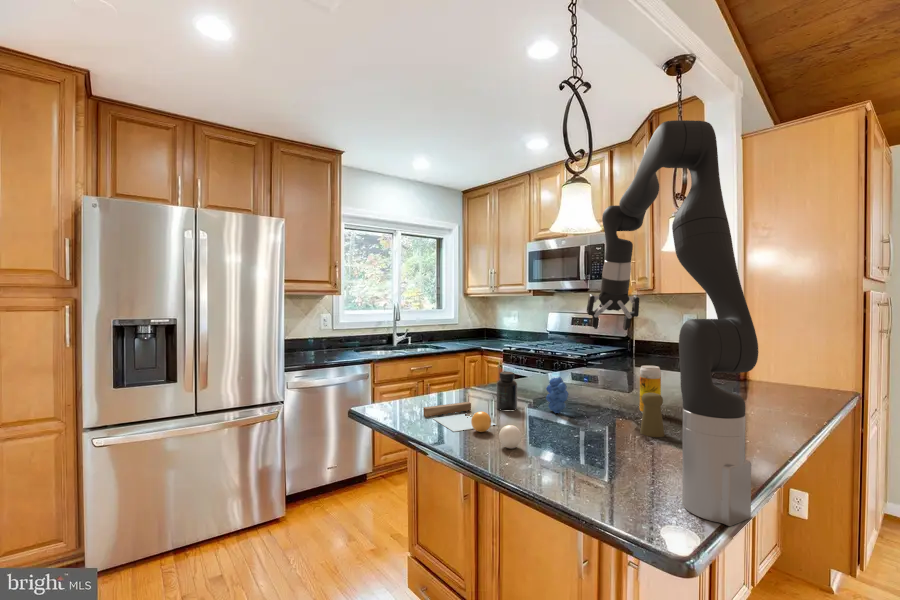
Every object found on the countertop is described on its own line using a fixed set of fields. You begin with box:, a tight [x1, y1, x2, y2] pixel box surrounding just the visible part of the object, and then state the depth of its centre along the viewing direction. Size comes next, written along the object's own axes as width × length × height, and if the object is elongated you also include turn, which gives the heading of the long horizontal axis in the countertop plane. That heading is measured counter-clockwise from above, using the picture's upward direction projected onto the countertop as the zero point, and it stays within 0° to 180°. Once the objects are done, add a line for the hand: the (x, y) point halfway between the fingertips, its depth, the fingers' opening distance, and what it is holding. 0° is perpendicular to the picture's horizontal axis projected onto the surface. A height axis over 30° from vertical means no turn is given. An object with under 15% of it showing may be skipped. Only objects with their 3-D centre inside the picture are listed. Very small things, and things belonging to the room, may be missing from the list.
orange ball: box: [471, 410, 492, 433], centre depth 116 cm, size 6×6×6 cm
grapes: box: [545, 376, 569, 414], centre depth 135 cm, size 12×7×12 cm, turn 14°
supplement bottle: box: [496, 371, 518, 411], centre depth 140 cm, size 7×7×12 cm
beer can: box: [639, 364, 662, 415], centre depth 135 cm, size 6×6×15 cm
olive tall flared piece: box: [639, 393, 665, 438], centre depth 115 cm, size 6×6×11 cm
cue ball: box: [498, 424, 523, 449], centre depth 104 cm, size 6×6×6 cm
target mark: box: [432, 413, 497, 433], centre depth 125 cm, size 14×14×1 cm
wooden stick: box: [422, 401, 472, 418], centre depth 135 cm, size 2×16×2 cm, turn 116°
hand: (610, 328), depth 126 cm, fingers open, 8 cm apart
